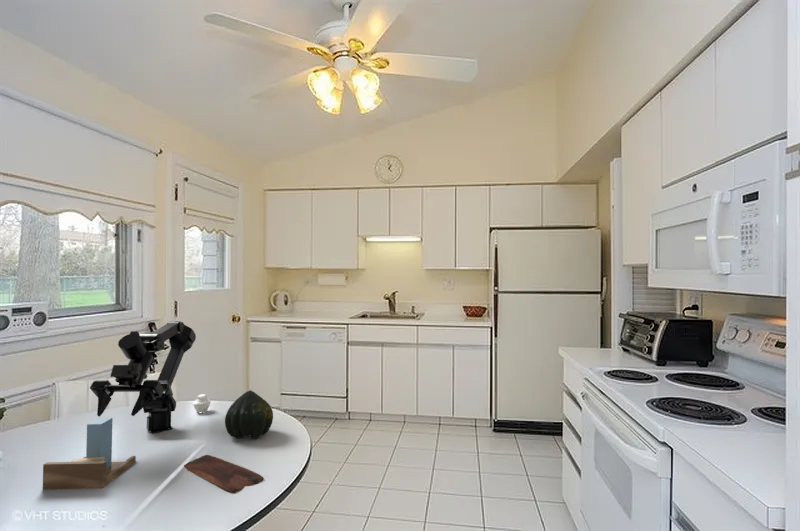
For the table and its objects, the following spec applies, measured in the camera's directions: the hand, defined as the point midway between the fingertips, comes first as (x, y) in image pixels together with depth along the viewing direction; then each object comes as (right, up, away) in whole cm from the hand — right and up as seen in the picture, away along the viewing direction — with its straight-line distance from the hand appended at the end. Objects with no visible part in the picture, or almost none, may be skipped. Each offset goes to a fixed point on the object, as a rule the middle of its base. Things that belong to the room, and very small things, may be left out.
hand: (115, 415), depth 121 cm
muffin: (+4, -14, +44) cm, 47 cm away
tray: (0, -13, -10) cm, 16 cm away
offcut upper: (+1, -9, -13) cm, 16 cm away
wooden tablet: (+32, -14, -5) cm, 36 cm away
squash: (+31, -14, +21) cm, 40 cm away
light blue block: (0, -12, -7) cm, 14 cm away
